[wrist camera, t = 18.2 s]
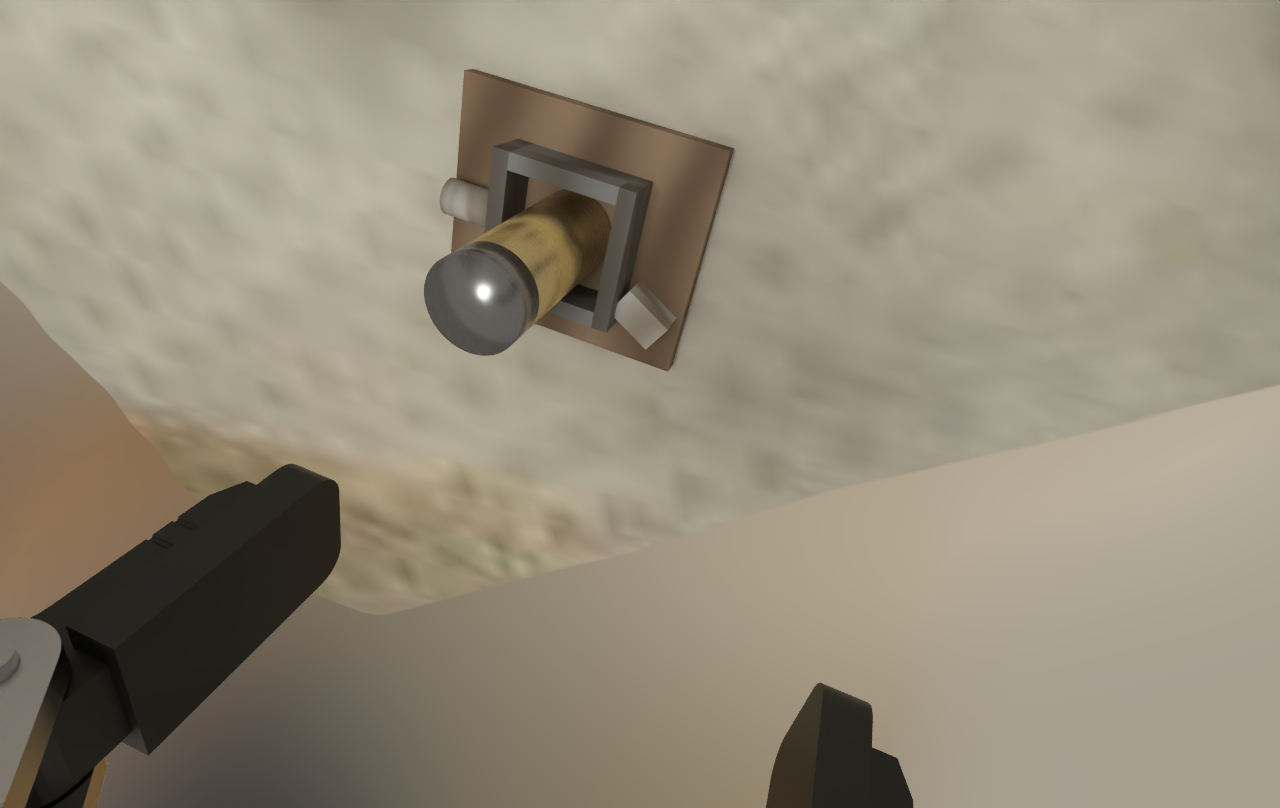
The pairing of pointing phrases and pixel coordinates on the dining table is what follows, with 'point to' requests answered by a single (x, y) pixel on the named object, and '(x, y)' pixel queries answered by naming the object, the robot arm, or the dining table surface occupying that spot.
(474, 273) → the capped cylinder
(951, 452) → the dining table surface
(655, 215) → the socket base
